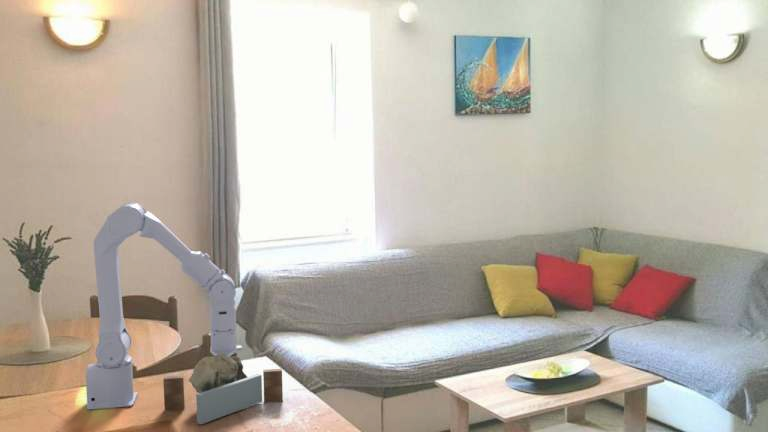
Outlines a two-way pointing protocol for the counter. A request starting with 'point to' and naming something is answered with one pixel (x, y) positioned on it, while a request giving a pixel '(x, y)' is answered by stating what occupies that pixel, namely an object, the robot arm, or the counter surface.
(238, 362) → the stone
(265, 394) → the door frame
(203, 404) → the door
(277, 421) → the counter surface
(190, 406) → the counter surface
